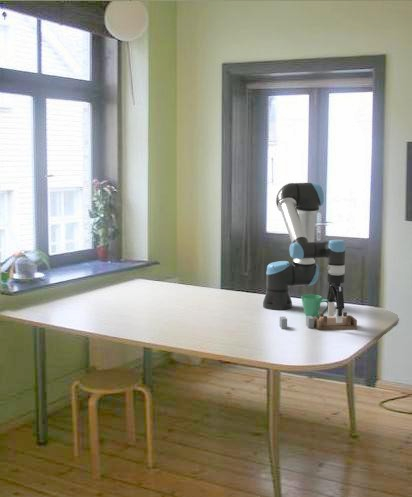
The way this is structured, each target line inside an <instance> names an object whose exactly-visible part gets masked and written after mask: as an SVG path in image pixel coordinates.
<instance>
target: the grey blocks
mask: <svg viewBox="0 0 412 497" xmlns="http://www.w3.org/2000/svg"><path fill="white" fill-rule="evenodd" d="M305 326H306V327H307V329H315V326H314V318H313V317H312V316H306V315H305ZM279 327H280V328H281V329H282V330H285V329H288V318H287V317H286V316H279Z"/></svg>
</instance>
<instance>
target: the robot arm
mask: <svg viewBox="0 0 412 497" xmlns="http://www.w3.org/2000/svg"><path fill="white" fill-rule="evenodd" d="M275 202H276V207H277V210H278V211H279V212H280V213H281V215H282V218H283V221H284V224H285V226H286V230H287V233H288V236H289V239H290V241H291V243H290V245H289V249H288V250H289V256H290V257H291V258H292V263H290V262H289V261H287V260H279V261H274V262H270V263H269V264H268V265H267V266H266V272H265V274H266V290H265V291H266V292H265V295H264V297H263V301H262V306H263V308H265V309H269V310H277V311H278V310H288V309H291V308H292V307H293V302H292V298H291V294H290V287H309V286H313V285H315V284H316V283H317V281H318V280H319V275H320V274H319V273H320V270H319V269H320V268H319V265H318V263H317V262H316V260H315V259H327V266H326V269H327V273H328V274H327V282H328V283H329V284H328V290H327V296H326V299H327V300H328V311H327V312H328V313H327V317H331V316H336V323H342V317H343V311H344V309H345V300H344V292H343V291H344V287H343V286H341V284H344V283H345V274H346V272H345V271H346V262H345V261H346V241H345V240H343V239H330V240H323V241H315V230H316V228H315V227H316V214H317V212H319V210H320V207H322V206H323V205H324V202H325V196H324V190H323V187H322V186H321V184H320V183H318V182H295V183H294V182H289V183H286V184H285V185H283V186H282V187H281V188H280V189H279V191H278V193H277V195H276V199H275ZM335 303H336V307H335ZM335 309H336V311H335Z"/></svg>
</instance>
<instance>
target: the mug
mask: <svg viewBox="0 0 412 497" xmlns="http://www.w3.org/2000/svg"><path fill="white" fill-rule="evenodd" d="M322 298H323V297H322V296H321V295H319V294H304V295H301V302H302V308H303V312H304V313H305V314H304V315H305V317H306V316H312V317H313V318H314V316H316V317H320V313H324V314H325V313H327V312H328V300H327V298H326V299H324V298H323V299H322ZM322 303H326V306H327V307H326V308H325V309H324V310H323V311H322V312H319V310H320V308H321V307H320V306H321V304H322Z"/></svg>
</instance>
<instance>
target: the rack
mask: <svg viewBox="0 0 412 497" xmlns="http://www.w3.org/2000/svg"><path fill="white" fill-rule="evenodd" d="M319 313H320V316H319V317H323V326H321V321H320V320H319V318H318V316H314V328H316V329H317V330H318V331H332V330H333V331H334V330H335V331H336V330H338V331H339V330H340V329H341V330H357V329H358V325H357V324H358V320H357V319H356V318H355V317H354V316H352V315H350V314H347V312H346V311H344V312H343V316H347V325H331V326H327V317H328V315H325V313H322V312H319Z"/></svg>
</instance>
